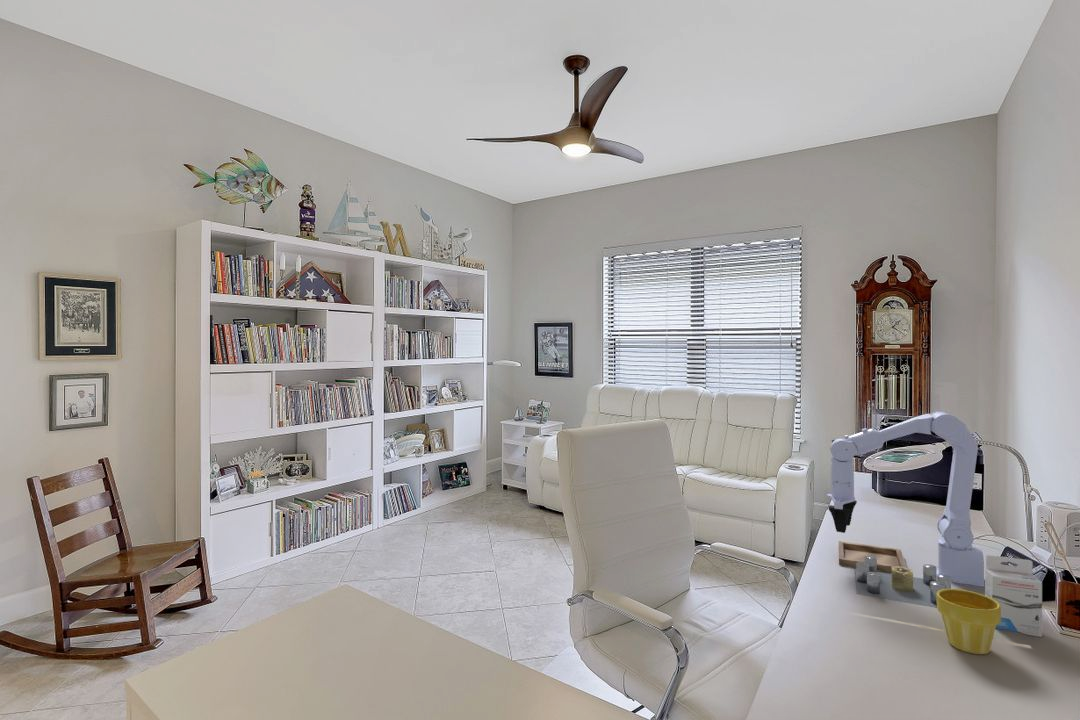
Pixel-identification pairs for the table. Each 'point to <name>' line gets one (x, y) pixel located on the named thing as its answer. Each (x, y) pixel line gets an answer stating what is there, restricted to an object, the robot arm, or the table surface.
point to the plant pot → (968, 619)
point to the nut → (902, 579)
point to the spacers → (872, 578)
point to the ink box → (1015, 594)
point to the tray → (857, 553)
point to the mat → (916, 596)
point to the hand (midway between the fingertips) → (843, 528)
